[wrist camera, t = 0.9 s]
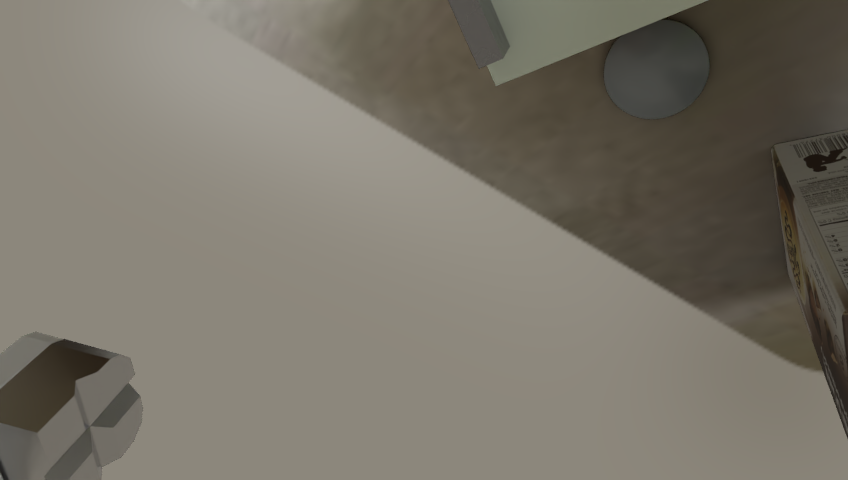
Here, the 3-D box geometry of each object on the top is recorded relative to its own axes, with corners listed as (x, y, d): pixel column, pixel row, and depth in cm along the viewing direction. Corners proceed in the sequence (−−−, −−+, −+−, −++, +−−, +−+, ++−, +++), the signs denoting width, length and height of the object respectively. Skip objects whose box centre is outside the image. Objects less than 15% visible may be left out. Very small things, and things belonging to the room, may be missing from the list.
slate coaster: (692, 1, 34) (692, 3, 34) (720, 95, 36) (721, 98, 36) (590, 42, 37) (589, 45, 36) (622, 129, 39) (622, 132, 38)
